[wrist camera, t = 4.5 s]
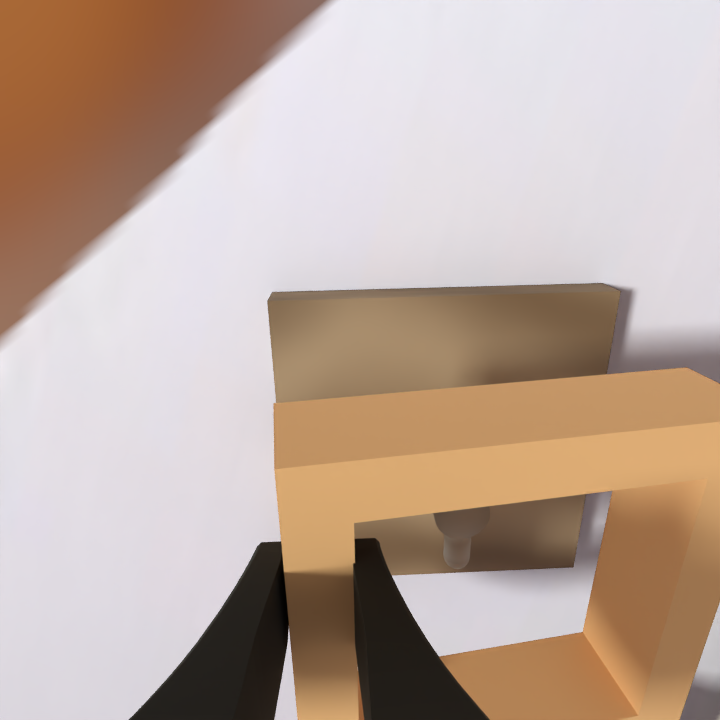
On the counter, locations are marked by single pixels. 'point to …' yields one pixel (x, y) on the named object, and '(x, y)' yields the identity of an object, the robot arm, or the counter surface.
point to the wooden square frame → (504, 486)
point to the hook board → (449, 370)
